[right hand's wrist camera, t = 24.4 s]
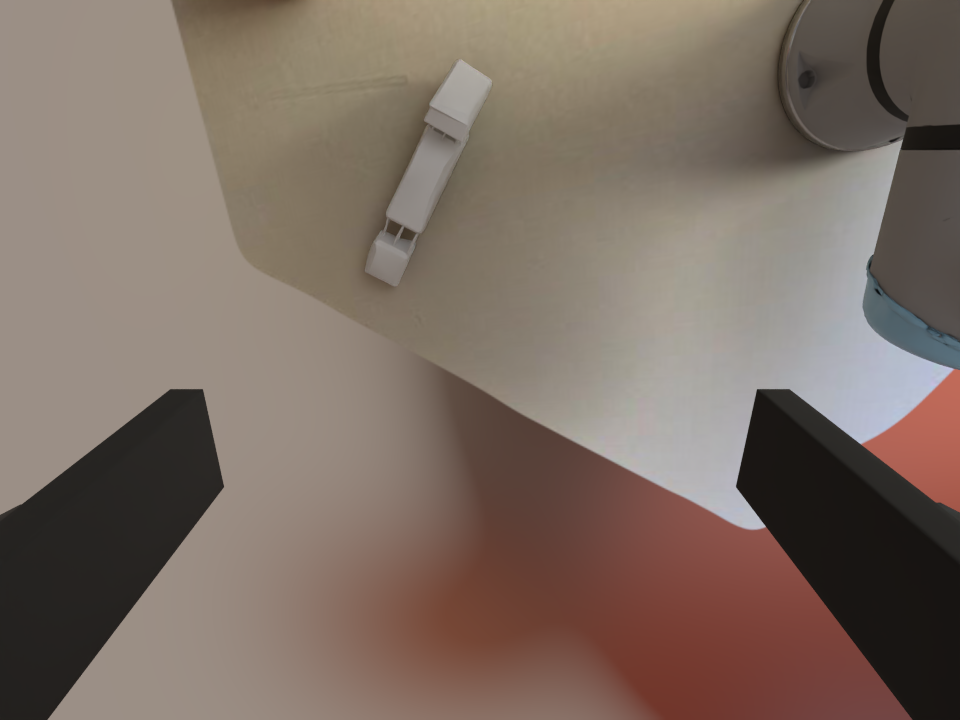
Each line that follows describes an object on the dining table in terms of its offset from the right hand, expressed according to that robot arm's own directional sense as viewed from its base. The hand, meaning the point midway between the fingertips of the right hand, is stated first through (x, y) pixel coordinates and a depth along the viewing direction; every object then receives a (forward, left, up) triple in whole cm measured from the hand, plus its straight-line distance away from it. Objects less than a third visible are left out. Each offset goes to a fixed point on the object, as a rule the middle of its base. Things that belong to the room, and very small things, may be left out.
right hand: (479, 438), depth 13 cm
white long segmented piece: (-1, -6, -41) cm, 41 cm away
